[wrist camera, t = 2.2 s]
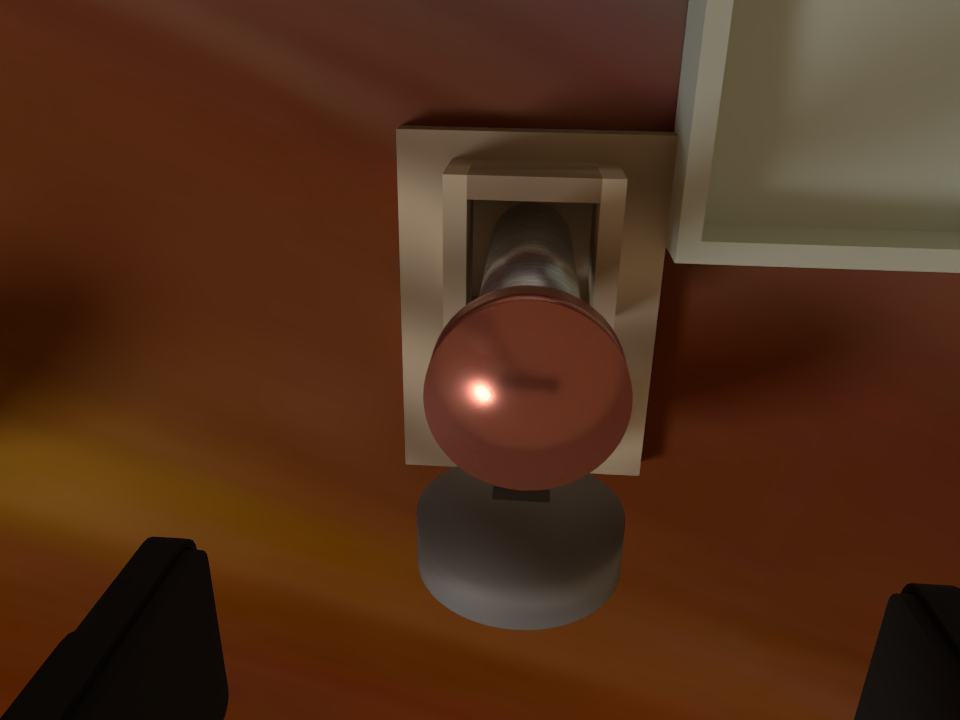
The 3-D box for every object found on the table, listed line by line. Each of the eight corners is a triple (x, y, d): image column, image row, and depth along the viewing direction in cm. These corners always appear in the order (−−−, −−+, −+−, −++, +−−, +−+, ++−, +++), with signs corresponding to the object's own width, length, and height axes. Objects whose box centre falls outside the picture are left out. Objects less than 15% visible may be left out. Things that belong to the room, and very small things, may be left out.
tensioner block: (400, 125, 29) (326, 184, 19) (673, 132, 28) (749, 196, 18) (409, 452, 34) (356, 632, 24) (636, 463, 34) (678, 652, 24)
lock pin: (470, 178, 28) (421, 299, 16) (597, 182, 28) (643, 307, 16) (469, 297, 30) (424, 485, 18) (588, 302, 30) (622, 495, 18)
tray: (703, -126, 25) (724, -145, 22) (1093, -124, 24) (1166, -143, 21) (661, 239, 30) (674, 263, 27) (984, 249, 29) (1033, 275, 26)
